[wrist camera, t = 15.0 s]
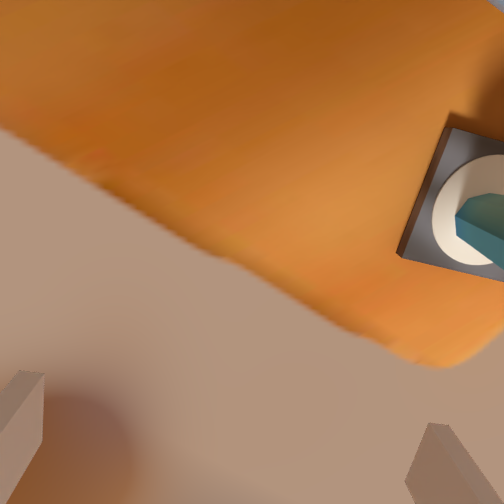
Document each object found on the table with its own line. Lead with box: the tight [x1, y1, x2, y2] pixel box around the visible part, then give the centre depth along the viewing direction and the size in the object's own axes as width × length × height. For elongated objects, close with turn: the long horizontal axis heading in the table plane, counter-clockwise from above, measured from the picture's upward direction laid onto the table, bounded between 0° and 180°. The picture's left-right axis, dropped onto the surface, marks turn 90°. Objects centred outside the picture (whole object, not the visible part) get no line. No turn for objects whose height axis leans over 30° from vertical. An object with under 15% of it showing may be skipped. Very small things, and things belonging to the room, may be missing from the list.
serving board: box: [396, 127, 504, 282], centre depth 40 cm, size 13×13×2 cm
